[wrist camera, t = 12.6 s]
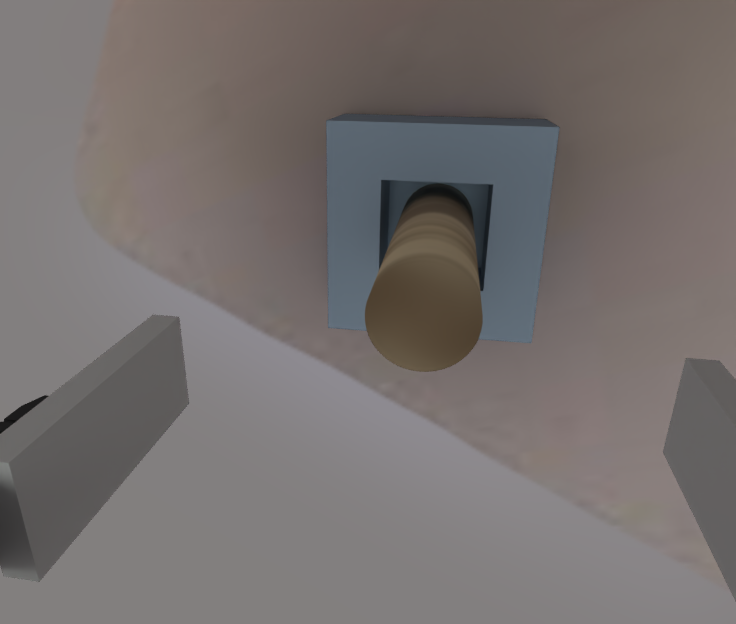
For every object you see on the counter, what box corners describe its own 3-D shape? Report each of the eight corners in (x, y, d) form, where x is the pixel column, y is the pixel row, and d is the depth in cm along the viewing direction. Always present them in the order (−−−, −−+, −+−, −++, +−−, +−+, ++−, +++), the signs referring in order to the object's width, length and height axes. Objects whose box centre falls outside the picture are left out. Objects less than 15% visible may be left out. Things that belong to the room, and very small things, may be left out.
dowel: (403, 182, 34) (365, 259, 20) (475, 185, 33) (488, 266, 19) (400, 250, 35) (363, 366, 21) (469, 254, 35) (477, 376, 21)
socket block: (345, 113, 34) (326, 120, 29) (545, 119, 32) (559, 127, 28) (344, 296, 38) (328, 327, 33) (522, 309, 36) (531, 343, 32)
